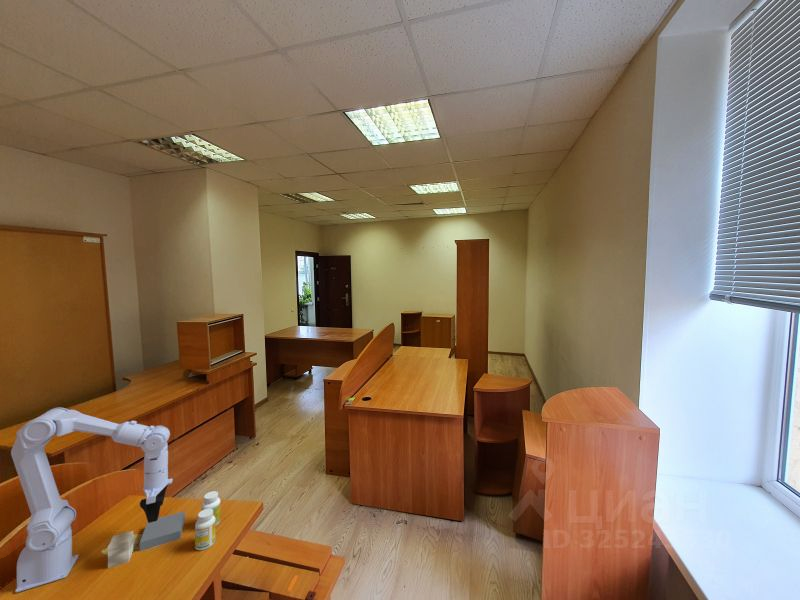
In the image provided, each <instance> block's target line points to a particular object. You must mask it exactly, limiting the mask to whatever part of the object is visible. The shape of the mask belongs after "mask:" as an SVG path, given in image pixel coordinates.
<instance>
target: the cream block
mask: <svg viewBox="0 0 800 600" xmlns="http://www.w3.org/2000/svg"><path fill="white" fill-rule="evenodd" d="M132 552H134V530H131V531H127V532H123V533H120V534H116V535H113V536H112V537H111V540H110V542H109V544H108V546H107V569H111V568H113V567H117V566H119V565H123V564H126V563H129V562H130V561H131V558H132V555H133V553H132Z"/></svg>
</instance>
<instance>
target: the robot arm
mask: <svg viewBox="0 0 800 600" xmlns="http://www.w3.org/2000/svg"><path fill="white" fill-rule="evenodd" d="M170 431H171V430H170V429H169V428H168V427H166V426H164V425H150V426H148V425H146V424H145V425H144V424H141V423H138V421H136V420H131V421H124V422H121V423H116V422H112V421H111V420H110V421H109V420H106V419H102V418H98V417H95V416H92V415H88V414H84V413H82V412H80V411H78V410H76V409H68V408H65V407H53V408H52V409H49V410H47V411H46V412H44V413H42V414H41V415H39V416H38V417H36V418H34V419H31V420H29V421H27V422H26V423H25V424H24V425H23V426H22V427H21V428H20V429H18V431H16V433H15V434H16V438H15V442H14V444H13V446H12V448H11V450H10V455H11V458H12V461H13V464H14V467H15V470H16V472H17V476H18V479H19V482H20V485H21V488H22V491H23V493H24V496H25V500H26V502H27V505H28V509H29V511H30V514H31V515H30V518H29V519H28V520H29V521H28V524H27V526H26V531H27V537H26V540H25V547H24V548H23V549H22V550H21V552H20V554H19V556H18V559H17V562H16V589H15V591H14V592H15V593H19V592H23V591H26V590H29V589H33V588H37V587H39V586H42V585H46V584H49V583H52V582H55V581H58V580H62V579H65V578H67V577H68V575H69V573H70V572H71V570H72V569H73V566H75V563H76V562H77V560H78V558H79V556H80V555H79V554H75V555H73V530H72V525H71V524H72V523H73V522H74V521H75V519H76V517H77V511H76V509H75V508H74V507H72V506H71V505H70V504H69V502H68V501H69V500H67V499H61V496H60V493H59V489H58V487H57V484H56V481H55V479H54V475H53V472H52V468H51V465H50V462H49V460H48V456H47V454H46V450H45V447H46V445H48V443H50V441H51V439H52V438H53V437H54V436H55V435H56V437H61V436H64V435H67V434H71V433H74V432H81V433H89V434H95V435H100V436H106V437H107V436H108V437H111V439H112V441H113V442H114V443H119V444H123V445H129V446H133V447H137V448H138V447H139V448H141V450H142V451H143V452H144V458H143V462H144V463H143V487H142V490H143V493H144V495H145V497H146V498H144V499H143V498H142V499H141V500H140V502H139V507H140V508H141V509H142V510H143V512H144V514H145V516H146V520H147V522H148V523H151V522H155V521H157V520H158V518H159V516H160V511H161V506H163V504H164V501H165V497H166V491H167V488H168V486H169V485H171V484H172V483H173V478H170V477H169V450H168V440H169V439H170V436H171V432H170ZM53 439H54V438H53Z"/></svg>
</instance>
